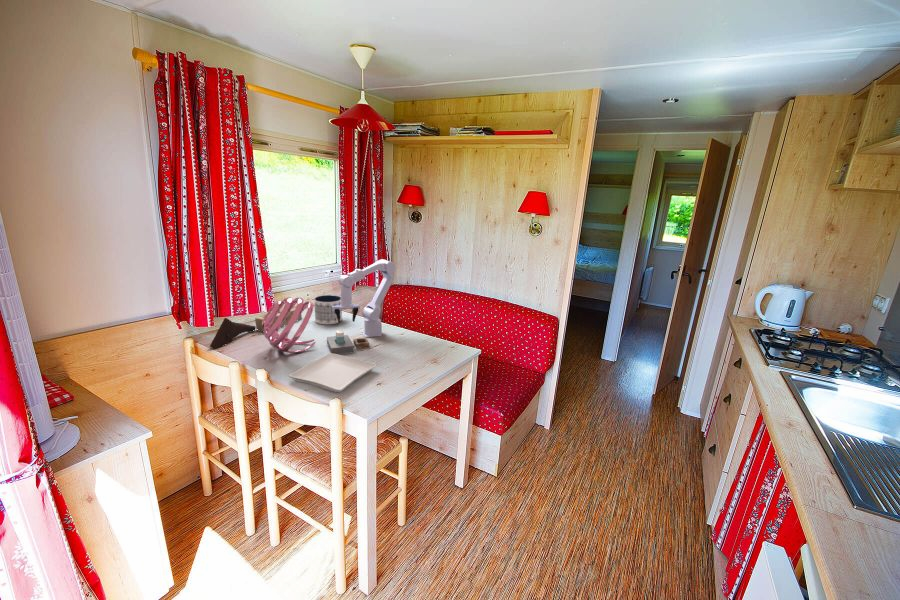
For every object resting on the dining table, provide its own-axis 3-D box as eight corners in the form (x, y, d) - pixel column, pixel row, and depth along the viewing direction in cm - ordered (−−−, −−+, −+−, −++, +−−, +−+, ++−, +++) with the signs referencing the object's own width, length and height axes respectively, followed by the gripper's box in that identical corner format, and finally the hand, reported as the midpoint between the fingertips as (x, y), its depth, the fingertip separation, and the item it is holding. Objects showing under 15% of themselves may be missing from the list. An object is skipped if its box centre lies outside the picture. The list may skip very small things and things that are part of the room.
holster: (242, 353, 211) (206, 346, 188) (251, 325, 215) (217, 314, 192) (249, 355, 210) (214, 347, 187) (259, 326, 214) (226, 315, 191)
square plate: (330, 359, 186) (329, 351, 185) (377, 371, 176) (378, 363, 175) (287, 382, 162) (286, 374, 161) (340, 398, 152) (340, 389, 151)
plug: (342, 344, 201) (342, 329, 199) (344, 347, 197) (344, 332, 195) (336, 344, 200) (335, 330, 197) (337, 348, 196) (337, 333, 193)
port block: (347, 340, 208) (347, 334, 207) (353, 352, 194) (353, 345, 193) (326, 343, 203) (326, 336, 202) (331, 354, 189) (331, 348, 188)
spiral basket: (334, 304, 206) (287, 277, 193) (332, 333, 182) (278, 306, 169) (305, 339, 213) (258, 316, 200) (300, 372, 189) (246, 349, 176)
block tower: (266, 334, 213) (304, 318, 239) (265, 320, 211) (303, 305, 237) (256, 331, 216) (294, 316, 242) (254, 317, 214) (293, 303, 240)
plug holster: (365, 341, 208) (365, 337, 207) (369, 347, 201) (369, 342, 201) (353, 343, 205) (353, 338, 205) (356, 348, 199) (356, 344, 198)
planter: (347, 319, 242) (346, 297, 238) (329, 326, 228) (329, 303, 224) (327, 315, 248) (326, 293, 244) (309, 321, 234) (308, 299, 230)
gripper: (333, 300, 197) (333, 325, 200) (361, 298, 203) (361, 323, 206) (331, 296, 203) (331, 321, 206) (358, 295, 209) (358, 319, 212)
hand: (346, 321), depth 207 cm, fingers open, 7 cm apart
